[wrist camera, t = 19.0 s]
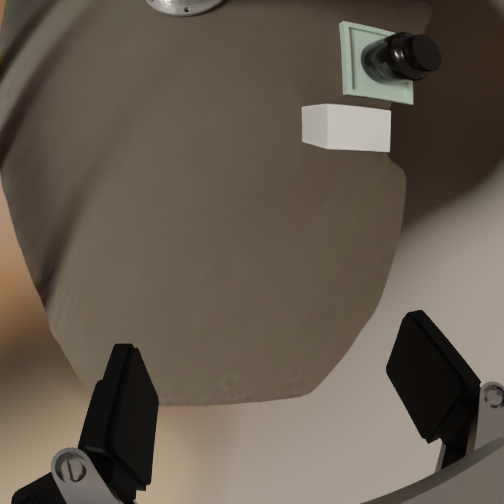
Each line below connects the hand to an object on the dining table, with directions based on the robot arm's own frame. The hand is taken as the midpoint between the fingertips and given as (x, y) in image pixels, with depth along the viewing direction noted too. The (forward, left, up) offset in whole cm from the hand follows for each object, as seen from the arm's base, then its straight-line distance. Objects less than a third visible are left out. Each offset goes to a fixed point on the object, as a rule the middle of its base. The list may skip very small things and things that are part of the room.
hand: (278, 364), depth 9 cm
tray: (-17, +22, -33) cm, 43 cm away
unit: (-7, +14, -33) cm, 37 cm away
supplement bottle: (-18, +22, -33) cm, 43 cm away
